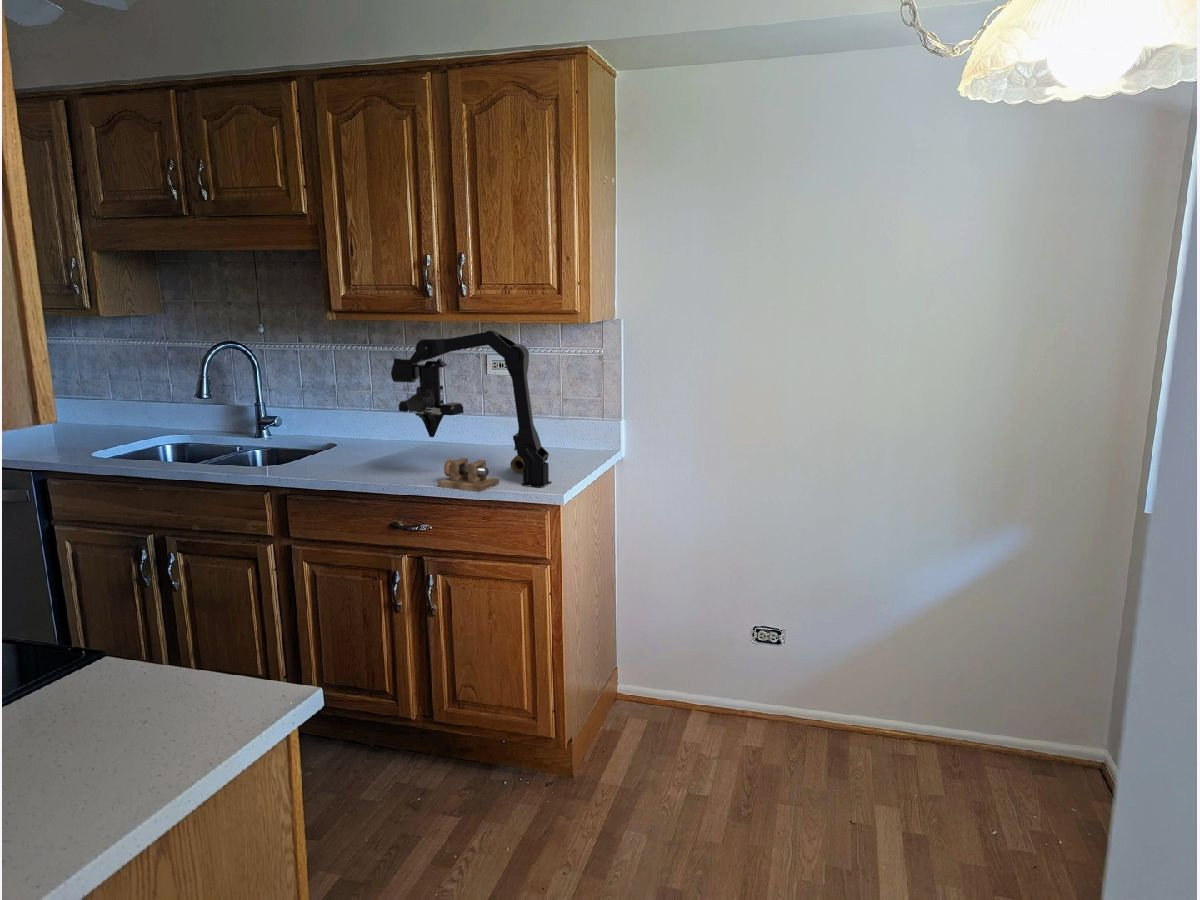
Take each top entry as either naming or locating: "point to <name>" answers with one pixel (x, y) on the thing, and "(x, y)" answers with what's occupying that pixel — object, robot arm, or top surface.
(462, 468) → the shaft
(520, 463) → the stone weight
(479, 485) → the bearing stand
